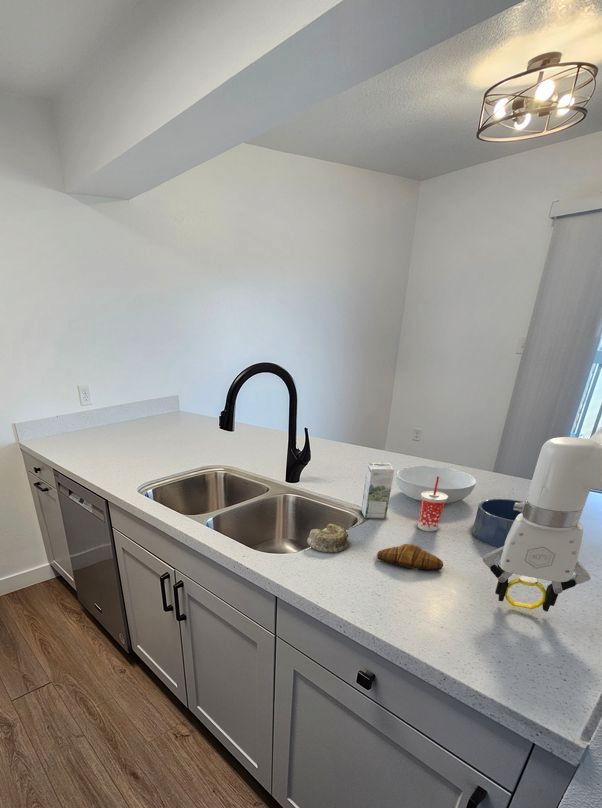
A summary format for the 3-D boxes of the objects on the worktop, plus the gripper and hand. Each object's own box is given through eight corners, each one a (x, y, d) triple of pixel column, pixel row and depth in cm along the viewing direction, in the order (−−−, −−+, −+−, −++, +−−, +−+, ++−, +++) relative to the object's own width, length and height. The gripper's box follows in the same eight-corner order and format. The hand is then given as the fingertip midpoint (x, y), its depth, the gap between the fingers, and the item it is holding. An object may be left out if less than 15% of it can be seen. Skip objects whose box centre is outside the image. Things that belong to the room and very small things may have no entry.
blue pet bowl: (539, 530, 108) (548, 504, 105) (542, 555, 98) (552, 527, 95) (474, 519, 116) (480, 495, 112) (470, 541, 105) (477, 515, 102)
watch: (541, 606, 80) (550, 579, 78) (541, 614, 78) (550, 586, 76) (502, 597, 83) (510, 571, 81) (501, 605, 82) (509, 578, 79)
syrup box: (382, 511, 124) (389, 461, 117) (386, 519, 118) (394, 468, 112) (361, 510, 125) (367, 461, 118) (364, 519, 119) (371, 468, 113)
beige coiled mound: (356, 545, 107) (360, 526, 105) (329, 559, 103) (333, 539, 100) (324, 529, 114) (327, 511, 112) (298, 541, 109) (300, 523, 107)
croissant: (442, 562, 97) (446, 543, 95) (442, 577, 92) (447, 557, 90) (377, 552, 103) (380, 533, 101) (374, 566, 97) (377, 546, 95)
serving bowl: (470, 516, 117) (476, 492, 114) (388, 505, 127) (391, 482, 124) (471, 490, 133) (477, 469, 130) (398, 482, 143) (401, 462, 140)
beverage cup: (445, 531, 110) (457, 479, 104) (422, 533, 110) (433, 481, 104) (432, 521, 116) (443, 471, 110) (410, 523, 116) (419, 473, 109)
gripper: (488, 513, 74) (467, 600, 82) (624, 531, 65) (584, 627, 73) (490, 498, 80) (470, 581, 88) (615, 513, 71) (579, 604, 79)
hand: (522, 601), depth 80 cm, fingers closed on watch, 6 cm apart
